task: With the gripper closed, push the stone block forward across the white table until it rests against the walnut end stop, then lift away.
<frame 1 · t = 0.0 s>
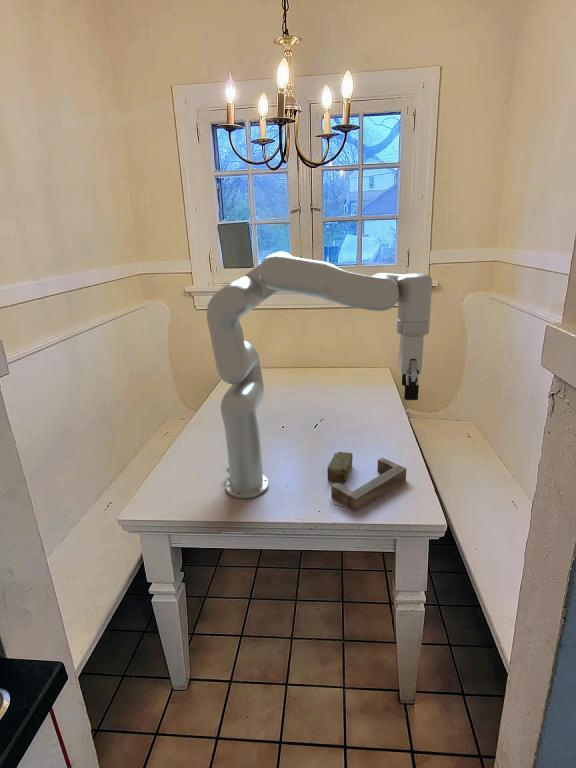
hand: (409, 392, 115), 31 cm above the table, tool pointing down, fingers open, 9 cm apart
walnut end stop: (377, 493, 128), on the table
stone block: (340, 474, 139), on the table
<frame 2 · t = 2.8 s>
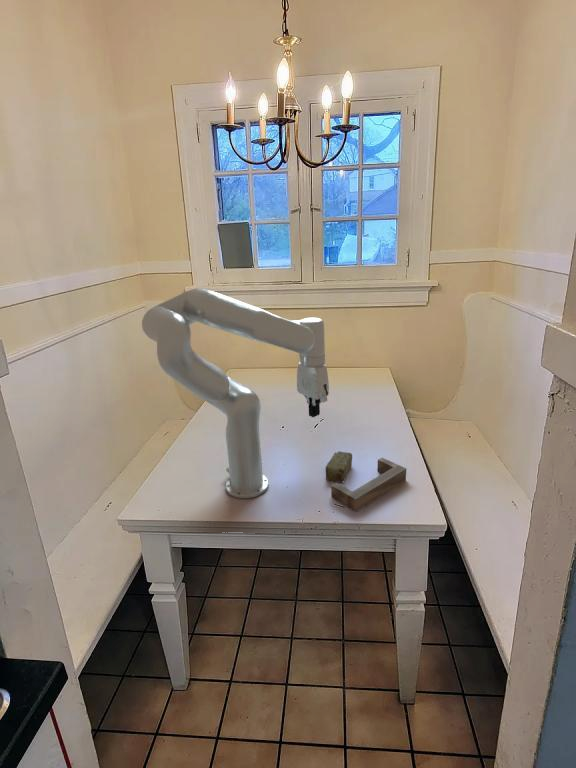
hand: (314, 415, 142), 16 cm above the table, tool pointing down, fingers closed
nothing on the table moved.
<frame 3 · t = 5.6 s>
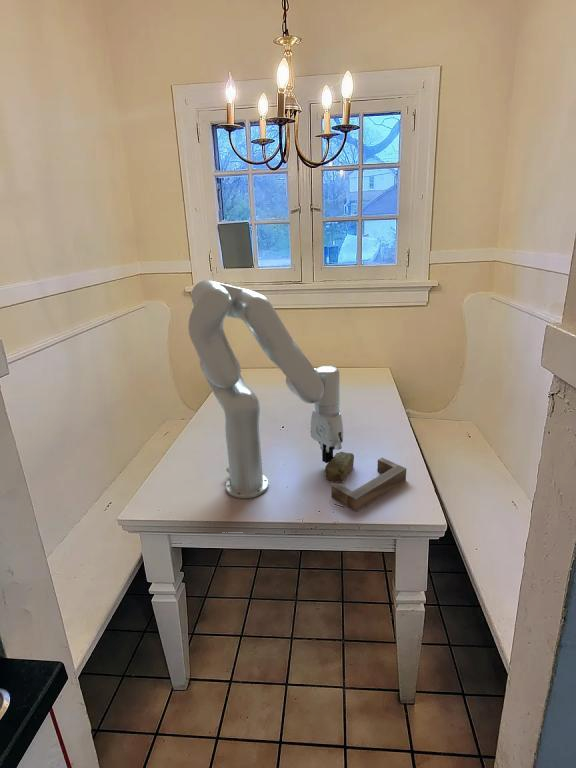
hand: (327, 460, 142), 2 cm above the table, tool pointing down, fingers closed
stone block: (339, 474, 139), on the table, touching gripper
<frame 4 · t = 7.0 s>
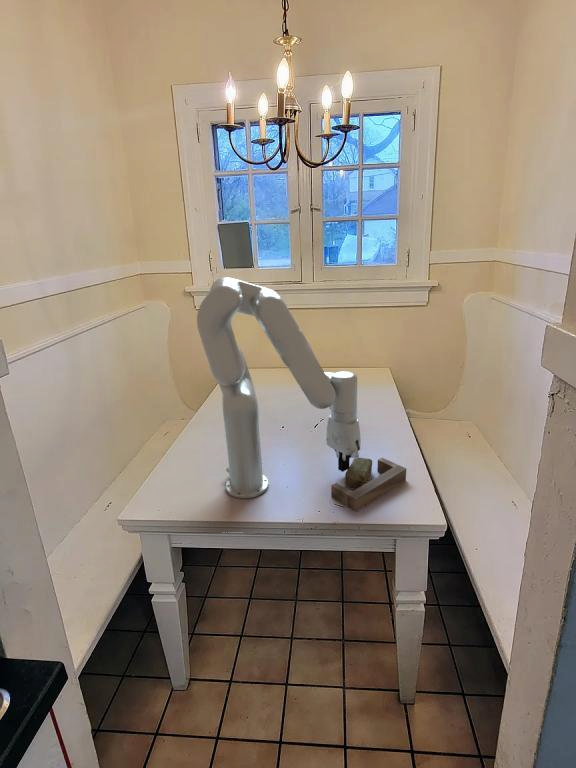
hand: (343, 469, 137), 2 cm above the table, tool pointing down, fingers closed
stone block: (358, 481, 135), on the table
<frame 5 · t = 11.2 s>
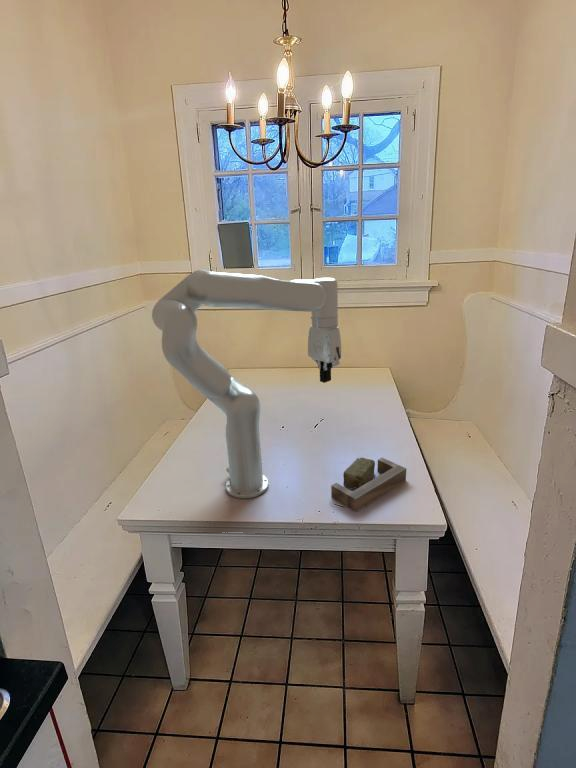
hand: (325, 381, 138), 27 cm above the table, tool pointing down, fingers closed
nothing on the table moved.
at the end: stone block inside the target area (1.6 cm from its centre), on the table; stone block tilted 0°; stone block moved 6.5 cm from its start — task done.
